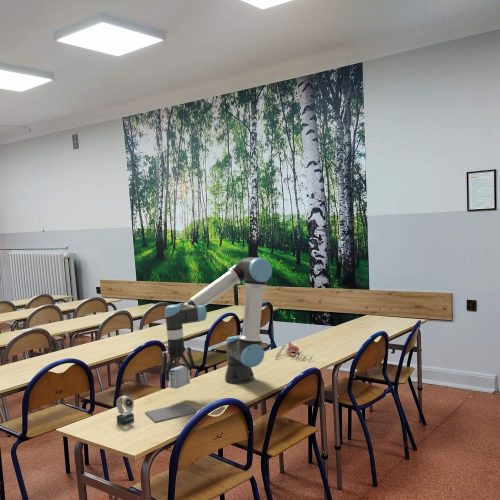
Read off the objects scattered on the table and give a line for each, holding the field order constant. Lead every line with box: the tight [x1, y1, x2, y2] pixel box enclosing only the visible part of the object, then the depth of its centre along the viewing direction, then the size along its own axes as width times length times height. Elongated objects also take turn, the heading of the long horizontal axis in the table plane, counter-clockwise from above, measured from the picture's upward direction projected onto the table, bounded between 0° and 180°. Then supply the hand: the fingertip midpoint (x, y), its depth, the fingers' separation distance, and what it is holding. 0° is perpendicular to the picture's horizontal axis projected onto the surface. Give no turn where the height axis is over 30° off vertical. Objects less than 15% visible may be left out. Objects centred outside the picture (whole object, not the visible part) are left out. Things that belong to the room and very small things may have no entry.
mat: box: [144, 402, 199, 423], centre depth 232 cm, size 20×14×1 cm
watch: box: [116, 395, 135, 426], centre depth 224 cm, size 6×8×11 cm
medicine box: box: [169, 365, 189, 390], centre depth 249 cm, size 8×4×9 cm, turn 141°
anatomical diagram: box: [275, 341, 314, 361], centre depth 316 cm, size 20×9×25 cm
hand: (179, 384), depth 249 cm, fingers closed on medicine box, 9 cm apart
